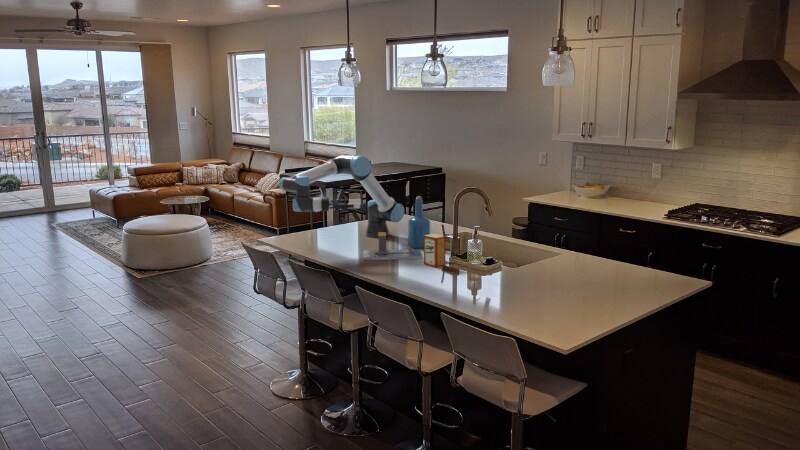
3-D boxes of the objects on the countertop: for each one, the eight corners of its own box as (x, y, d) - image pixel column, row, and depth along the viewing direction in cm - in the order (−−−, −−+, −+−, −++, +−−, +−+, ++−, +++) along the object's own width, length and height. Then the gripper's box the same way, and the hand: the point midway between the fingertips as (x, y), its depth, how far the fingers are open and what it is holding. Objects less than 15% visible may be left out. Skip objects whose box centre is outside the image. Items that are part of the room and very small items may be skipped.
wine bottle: (431, 249, 370) (430, 198, 364) (408, 249, 370) (407, 198, 364) (430, 243, 383) (430, 194, 377) (408, 243, 384) (407, 194, 378)
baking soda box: (423, 264, 337) (423, 234, 334) (432, 262, 341) (432, 232, 338) (436, 267, 330) (436, 237, 327) (445, 265, 334) (445, 235, 331)
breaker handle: (377, 251, 357) (376, 232, 355) (387, 251, 357) (387, 232, 355) (377, 253, 353) (376, 234, 350) (388, 253, 353) (387, 233, 351)
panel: (363, 253, 363) (363, 250, 362) (419, 251, 364) (419, 249, 363) (362, 260, 347) (362, 257, 347) (421, 258, 348) (421, 256, 348)
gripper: (323, 207, 361) (361, 206, 362) (319, 215, 337) (359, 214, 337) (323, 194, 360) (360, 193, 360) (319, 201, 335) (359, 200, 336)
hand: (360, 203), depth 349 cm, fingers open, 13 cm apart
